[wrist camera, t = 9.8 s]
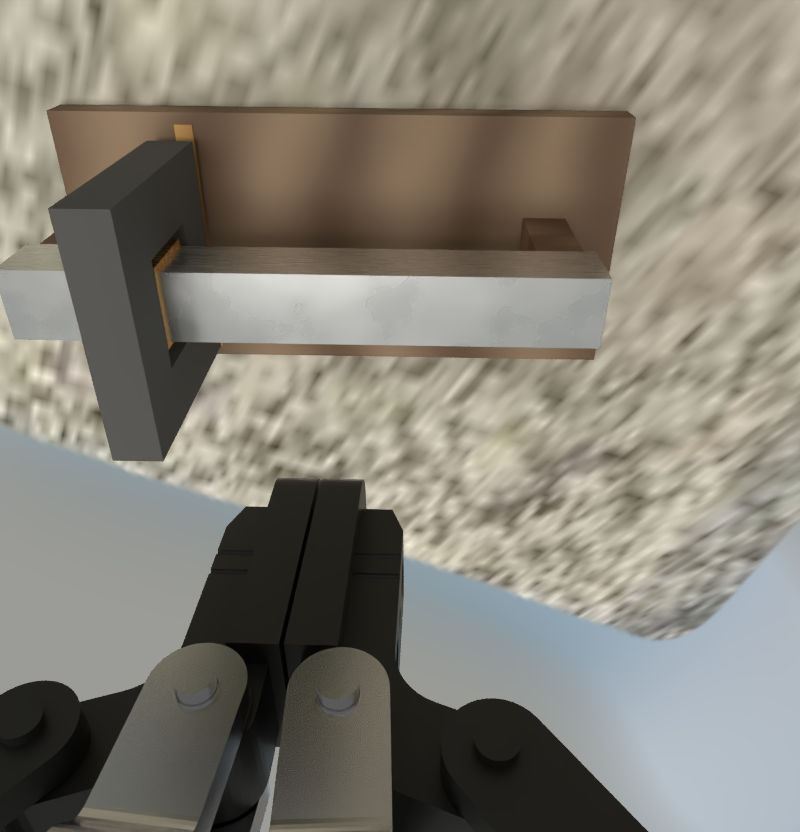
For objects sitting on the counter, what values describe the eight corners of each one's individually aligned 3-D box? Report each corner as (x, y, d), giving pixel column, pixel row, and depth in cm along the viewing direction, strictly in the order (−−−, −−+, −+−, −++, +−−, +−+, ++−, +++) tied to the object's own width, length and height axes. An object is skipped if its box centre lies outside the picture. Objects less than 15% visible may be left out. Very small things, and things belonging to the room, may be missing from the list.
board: (627, 111, 33) (665, 140, 28) (587, 346, 39) (613, 404, 34) (60, 104, 33) (-4, 131, 28) (114, 339, 40) (70, 395, 35)
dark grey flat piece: (192, 141, 31) (109, 209, 23) (221, 345, 37) (163, 461, 28) (146, 140, 31) (47, 208, 23) (182, 344, 37) (112, 460, 28)
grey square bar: (595, 243, 30) (614, 275, 27) (583, 320, 32) (600, 356, 29) (28, 235, 31) (-13, 266, 28) (49, 311, 32) (13, 347, 29)
